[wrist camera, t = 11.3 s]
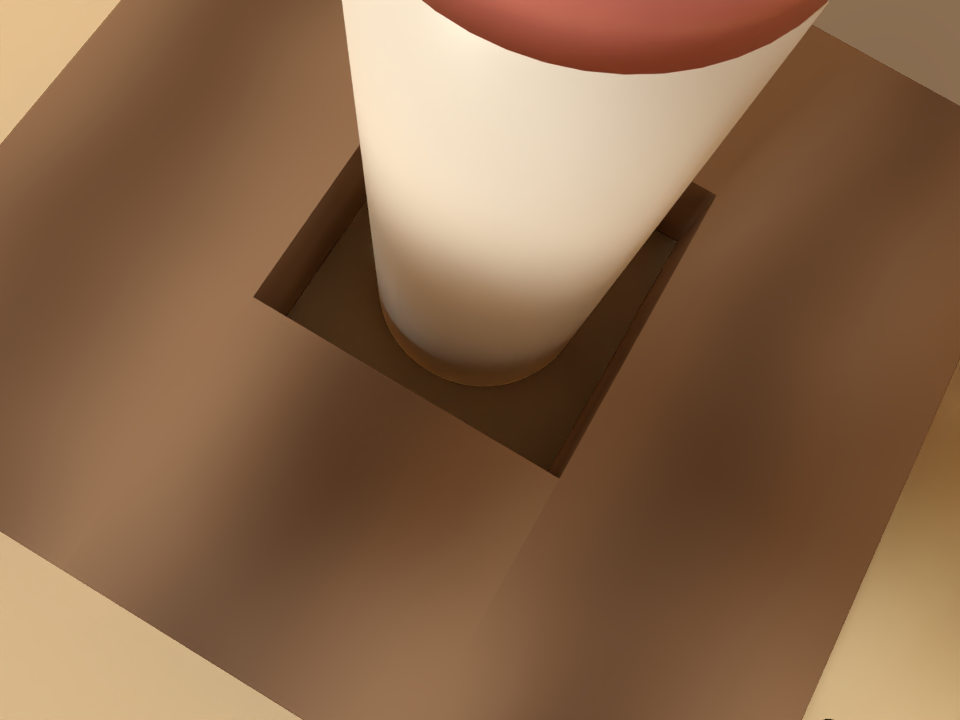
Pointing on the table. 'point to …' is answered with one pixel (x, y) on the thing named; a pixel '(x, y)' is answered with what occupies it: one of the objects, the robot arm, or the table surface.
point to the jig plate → (434, 432)
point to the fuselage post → (537, 154)
